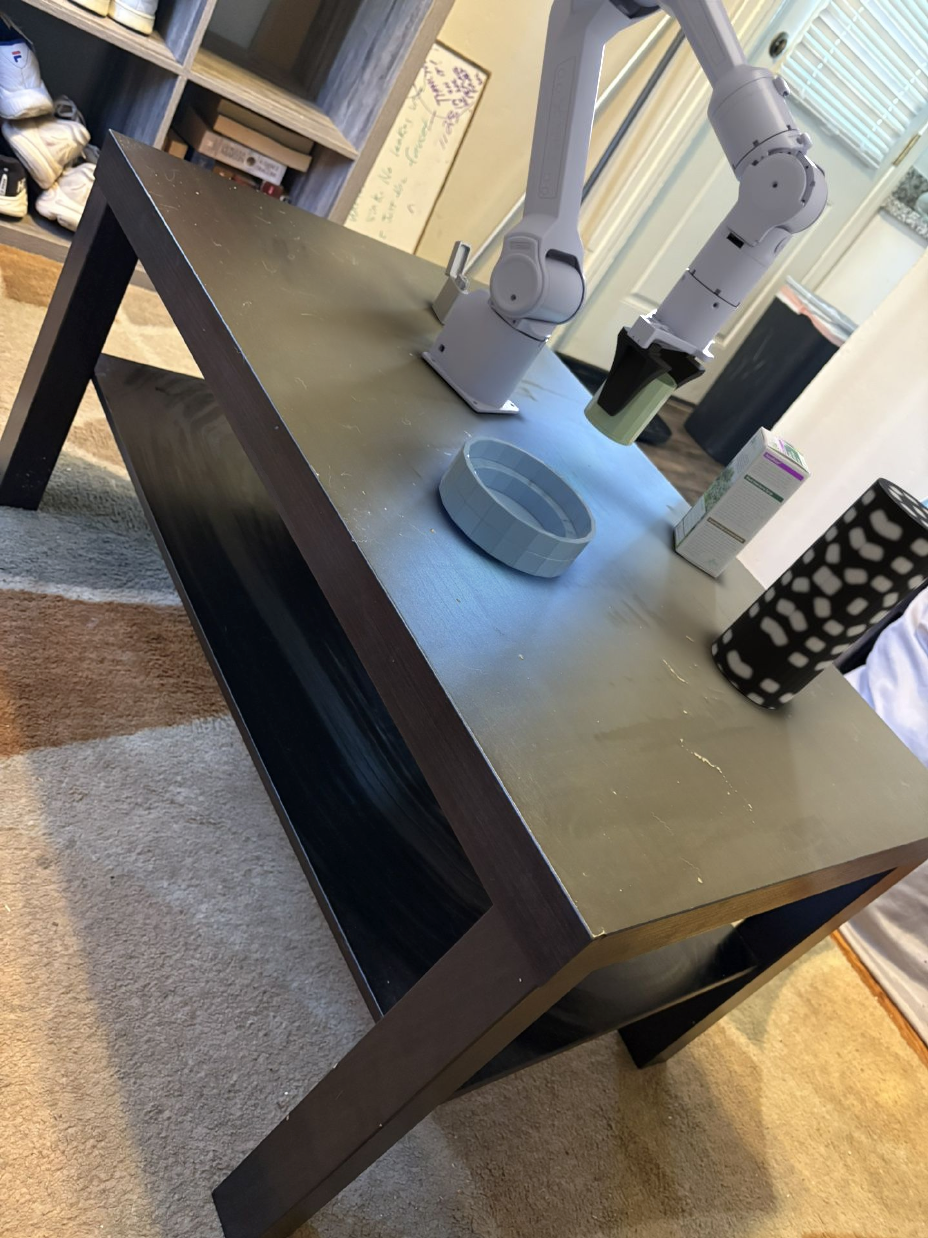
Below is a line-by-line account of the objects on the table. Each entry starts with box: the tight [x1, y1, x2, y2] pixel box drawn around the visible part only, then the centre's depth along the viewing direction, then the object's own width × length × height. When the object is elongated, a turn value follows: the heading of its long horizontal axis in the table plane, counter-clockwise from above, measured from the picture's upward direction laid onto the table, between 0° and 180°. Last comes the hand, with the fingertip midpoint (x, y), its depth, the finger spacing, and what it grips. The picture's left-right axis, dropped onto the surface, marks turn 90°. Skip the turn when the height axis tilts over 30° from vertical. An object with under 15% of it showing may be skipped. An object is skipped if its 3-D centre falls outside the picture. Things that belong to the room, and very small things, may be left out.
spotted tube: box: [711, 477, 928, 710], centre depth 75 cm, size 8×8×20 cm
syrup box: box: [673, 426, 812, 579], centre depth 91 cm, size 6×6×14 cm
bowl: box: [438, 436, 597, 579], centre depth 73 cm, size 13×13×4 cm
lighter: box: [431, 240, 473, 325], centre depth 105 cm, size 7×2×8 cm, turn 20°
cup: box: [583, 372, 677, 447], centre depth 84 cm, size 6×6×7 cm
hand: (619, 410), depth 85 cm, fingers closed on cup, 6 cm apart
